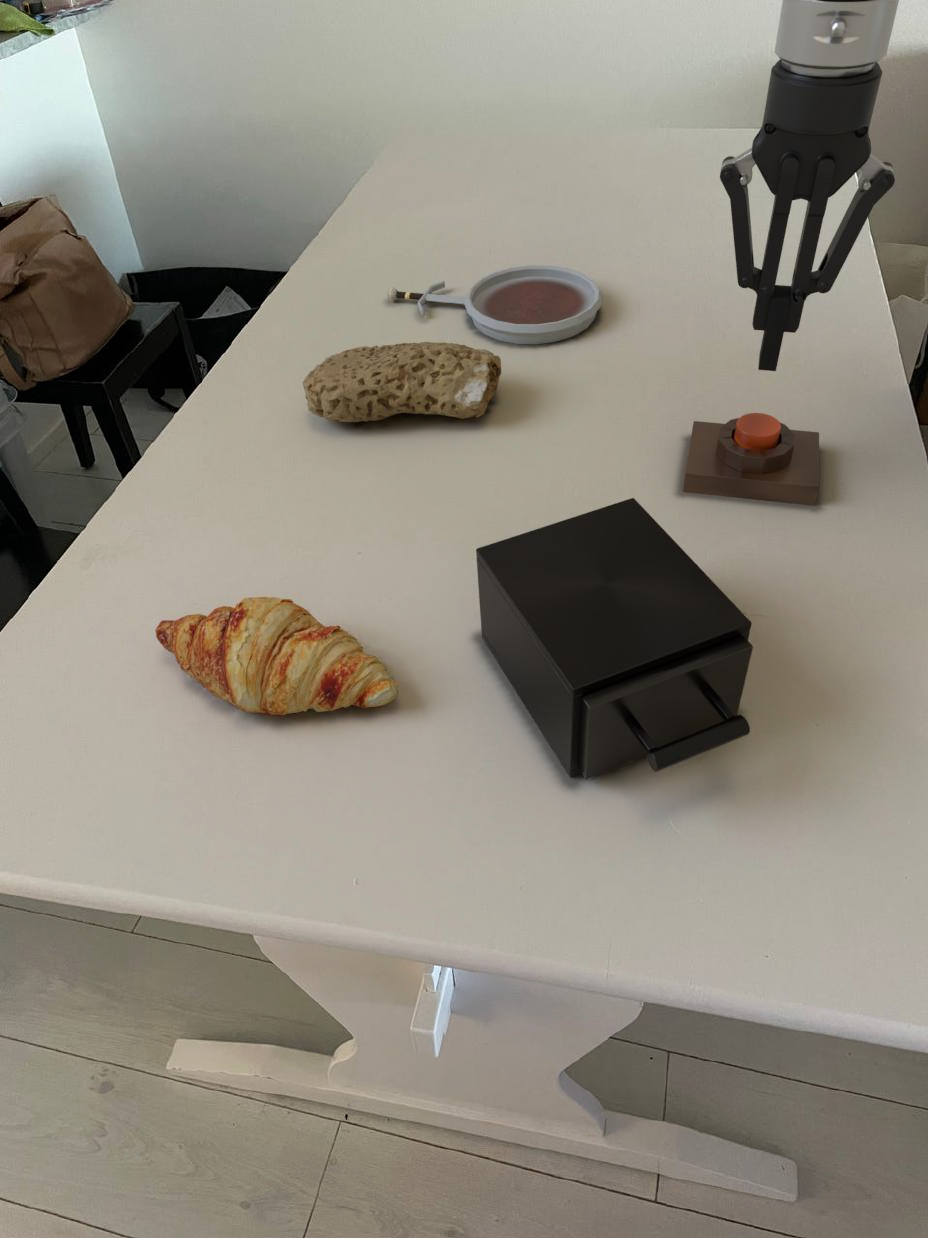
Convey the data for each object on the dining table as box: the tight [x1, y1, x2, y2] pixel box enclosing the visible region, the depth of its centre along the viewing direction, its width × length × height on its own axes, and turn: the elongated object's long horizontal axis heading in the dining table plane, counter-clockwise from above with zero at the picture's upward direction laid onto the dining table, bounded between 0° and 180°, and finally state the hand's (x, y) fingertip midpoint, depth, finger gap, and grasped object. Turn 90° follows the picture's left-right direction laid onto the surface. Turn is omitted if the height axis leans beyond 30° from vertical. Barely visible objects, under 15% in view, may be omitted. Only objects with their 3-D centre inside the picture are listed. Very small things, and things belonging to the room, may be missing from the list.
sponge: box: [302, 341, 502, 423], centre depth 99 cm, size 13×8×20 cm
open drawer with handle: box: [578, 635, 754, 780], centre depth 67 cm, size 19×12×8 cm, turn 23°
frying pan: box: [386, 264, 603, 345], centre depth 116 cm, size 17×3×28 cm
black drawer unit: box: [475, 497, 752, 778], centre depth 69 cm, size 16×14×10 cm
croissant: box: [154, 596, 399, 716], centre depth 73 cm, size 21×10×8 cm, turn 71°
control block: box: [682, 417, 820, 507], centre depth 89 cm, size 12×9×4 cm
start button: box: [734, 412, 781, 451], centre depth 87 cm, size 4×4×2 cm
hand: (767, 362), depth 82 cm, fingers closed
